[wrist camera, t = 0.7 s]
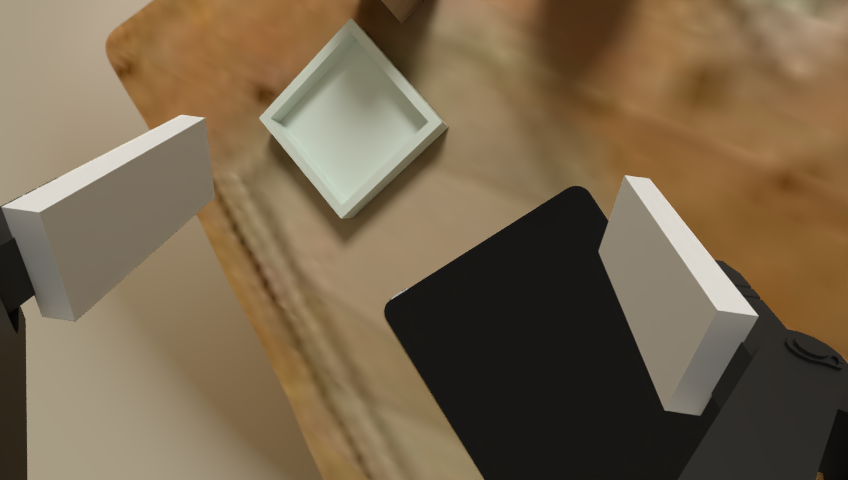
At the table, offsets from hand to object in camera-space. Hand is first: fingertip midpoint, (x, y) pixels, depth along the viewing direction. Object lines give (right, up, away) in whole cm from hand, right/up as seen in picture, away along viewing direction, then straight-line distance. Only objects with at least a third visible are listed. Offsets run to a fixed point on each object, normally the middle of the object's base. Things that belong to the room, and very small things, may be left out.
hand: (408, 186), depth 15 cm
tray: (-5, +8, +27) cm, 29 cm away
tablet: (+12, -14, +25) cm, 30 cm away
